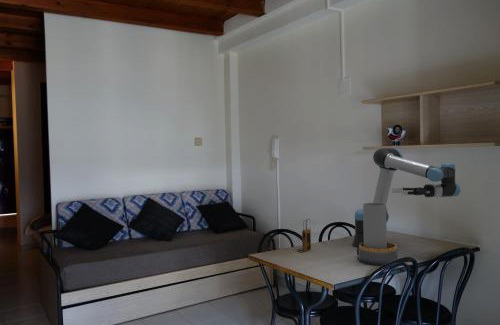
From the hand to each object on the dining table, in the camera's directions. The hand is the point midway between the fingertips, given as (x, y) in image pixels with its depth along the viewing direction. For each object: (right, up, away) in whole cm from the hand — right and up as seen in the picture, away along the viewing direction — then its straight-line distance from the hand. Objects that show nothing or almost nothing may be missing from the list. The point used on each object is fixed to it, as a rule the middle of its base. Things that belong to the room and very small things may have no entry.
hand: (396, 191), depth 254 cm
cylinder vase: (-14, -32, -6) cm, 35 cm away
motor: (-13, -38, -5) cm, 41 cm away
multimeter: (-52, -39, +25) cm, 70 cm away
